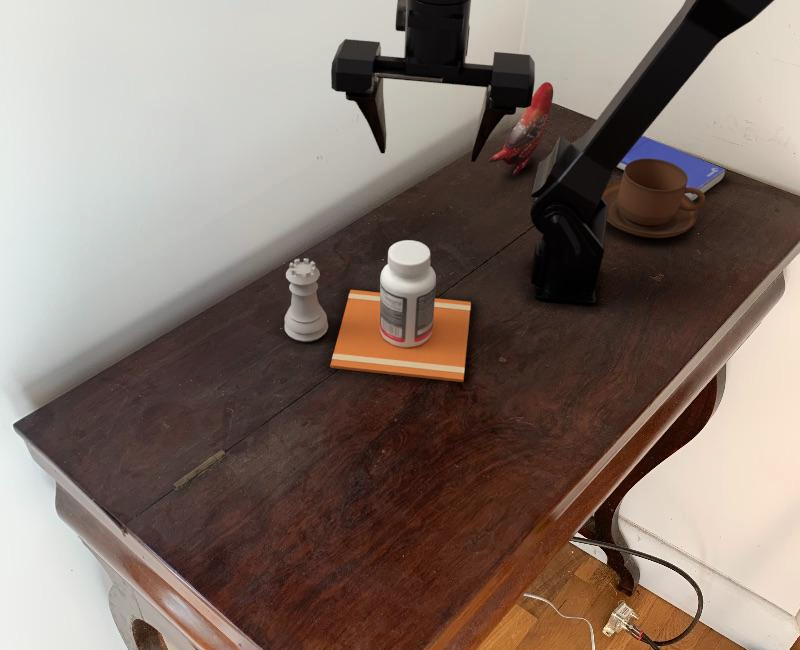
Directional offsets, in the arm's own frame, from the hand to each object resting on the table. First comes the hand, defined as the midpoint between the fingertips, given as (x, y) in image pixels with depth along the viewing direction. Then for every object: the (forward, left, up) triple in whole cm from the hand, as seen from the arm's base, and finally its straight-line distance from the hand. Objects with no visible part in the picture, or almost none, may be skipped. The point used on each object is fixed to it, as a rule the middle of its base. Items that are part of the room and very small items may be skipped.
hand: (428, 155), depth 82 cm
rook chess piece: (+10, +14, -13) cm, 22 cm away
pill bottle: (0, +13, -13) cm, 18 cm away
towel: (0, +13, -13) cm, 18 cm away
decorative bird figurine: (-10, -21, -13) cm, 26 cm away
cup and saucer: (-26, -13, -13) cm, 32 cm away
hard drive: (-30, -25, -13) cm, 41 cm away
